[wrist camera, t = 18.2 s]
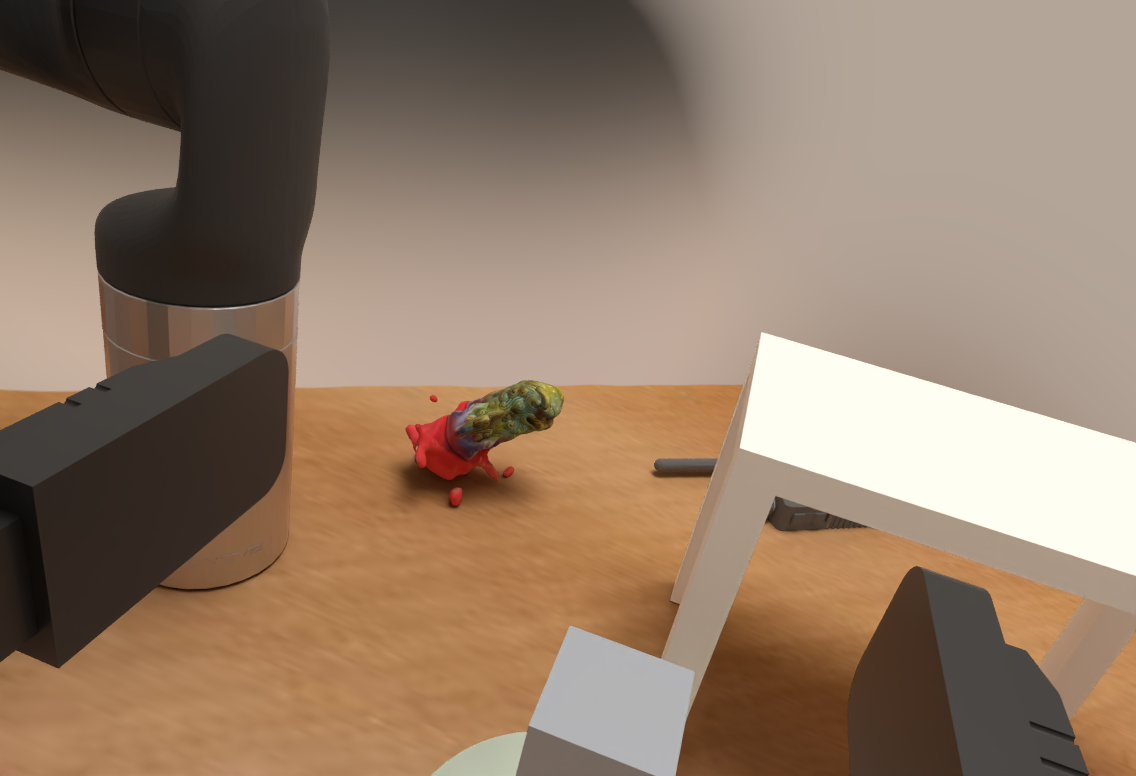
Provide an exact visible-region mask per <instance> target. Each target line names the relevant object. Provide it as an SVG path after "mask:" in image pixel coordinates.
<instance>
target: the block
mask: <svg viewBox="0 0 1136 776" xmlns="http://www.w3.org/2000/svg"><path fill="white" fill-rule="evenodd" d="M694 673H695V671H692V670H689V669H687V668H684V667H681V666H678V665H676V664H673V663H670V662H668V661H665V660H662V659H660V658H657V657H654V656H652V655H649V654H646V653H643V652H641V651H638V650H635V649H633V648H630V647H627V646H625V645H622V644H619V643H616V642H614V641H611V640H608V639H606V638H603V637H600V636H598V635H595V634H592V633H590V632H587V631H584V630H581V629H579V628H576V627H573V626H571V625H570V627H569V629H568V631H567V634H566V636H565V639H564V641H563V644H562V646H561V648H560V651H559V653H558V656H557V658H556V661H555V663H554V665H553V668H552V670H551V673H550V675H549V678H548V680H547V682H546V685H545V687H544V690H543V692H542V695H541V697H540V699H539V702H538V704H537V707H536V709H535V712H534V714H533V716H532V719H531V721H530V724H529V726H528V730H527V734H526V738H525V742H524V745H523V749H522V753H521V757H520V761H519V764H518V768H517V772H516V776H675V775H676V770H677V764H678V759H679V754H680V748H681V743H682V738H683V732H684V727H685V722H686V716H687V711H688V706H689V700H690V695H691V689H692V684H693V679H694Z"/></svg>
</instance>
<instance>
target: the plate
mask: <svg viewBox="0 0 1136 776" xmlns="http://www.w3.org/2000/svg"><path fill="white" fill-rule="evenodd" d="M526 734H527V732H518V733H511V734H506V735H502V736H497V737H494V738H491V739H488V740H485V741H482V742H479V743H477V744H475V745H473V746H471V747H469V748H467V749H465V750H463V751H462V752H460V753H459V754H457V755H456V756H454V757H453V758H451V759H449V760H448V761H447V762H446V763H444V764H443V765H442V766H441V767H440V768H439V769H437V770H436V771H435V772H434V773H433V774H432V775H431V776H516V772H517V768H518V764H519V761H520V757H521V753H522V749H523V745H524V742H525V738H526Z"/></svg>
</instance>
